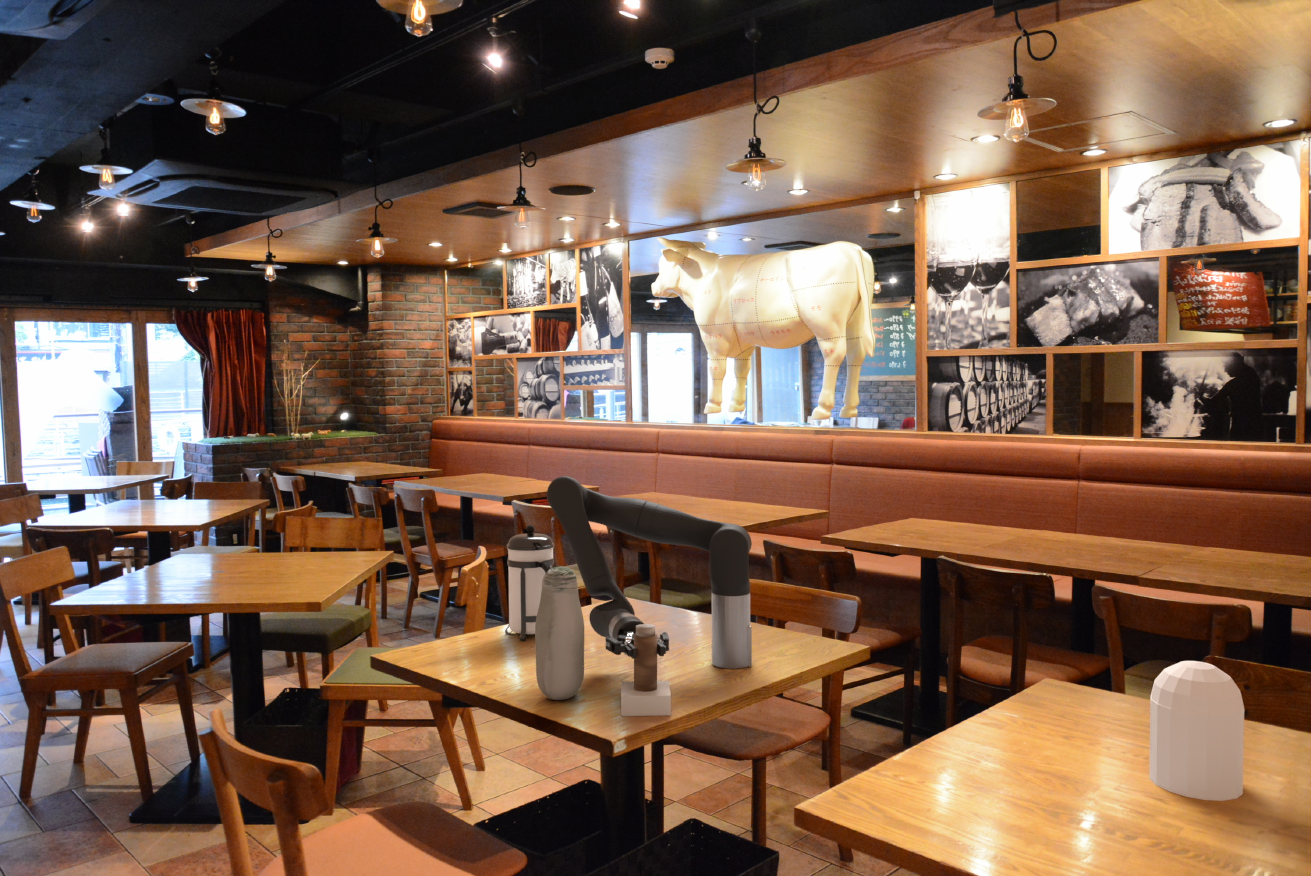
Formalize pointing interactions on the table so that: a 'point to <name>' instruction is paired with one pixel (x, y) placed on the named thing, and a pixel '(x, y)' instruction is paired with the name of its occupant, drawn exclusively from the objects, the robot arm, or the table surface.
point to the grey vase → (559, 635)
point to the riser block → (645, 700)
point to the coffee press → (527, 578)
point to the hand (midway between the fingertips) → (648, 652)
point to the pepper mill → (645, 658)
